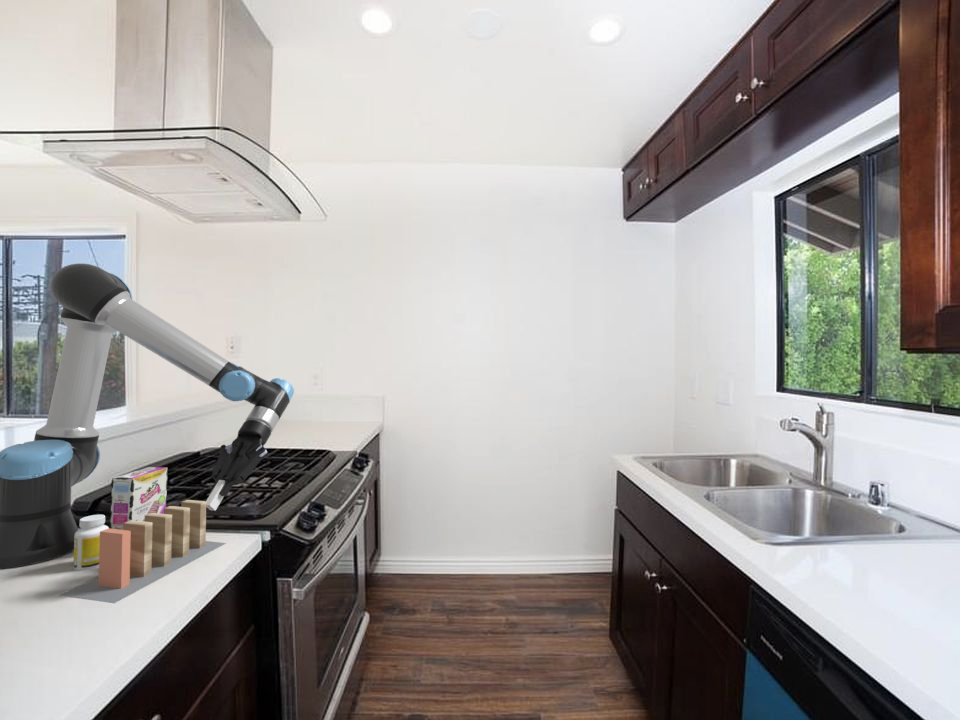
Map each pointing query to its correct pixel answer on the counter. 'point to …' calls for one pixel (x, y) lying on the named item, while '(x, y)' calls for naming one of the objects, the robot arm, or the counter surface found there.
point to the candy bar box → (138, 495)
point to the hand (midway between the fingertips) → (209, 507)
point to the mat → (137, 578)
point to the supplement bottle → (88, 542)
